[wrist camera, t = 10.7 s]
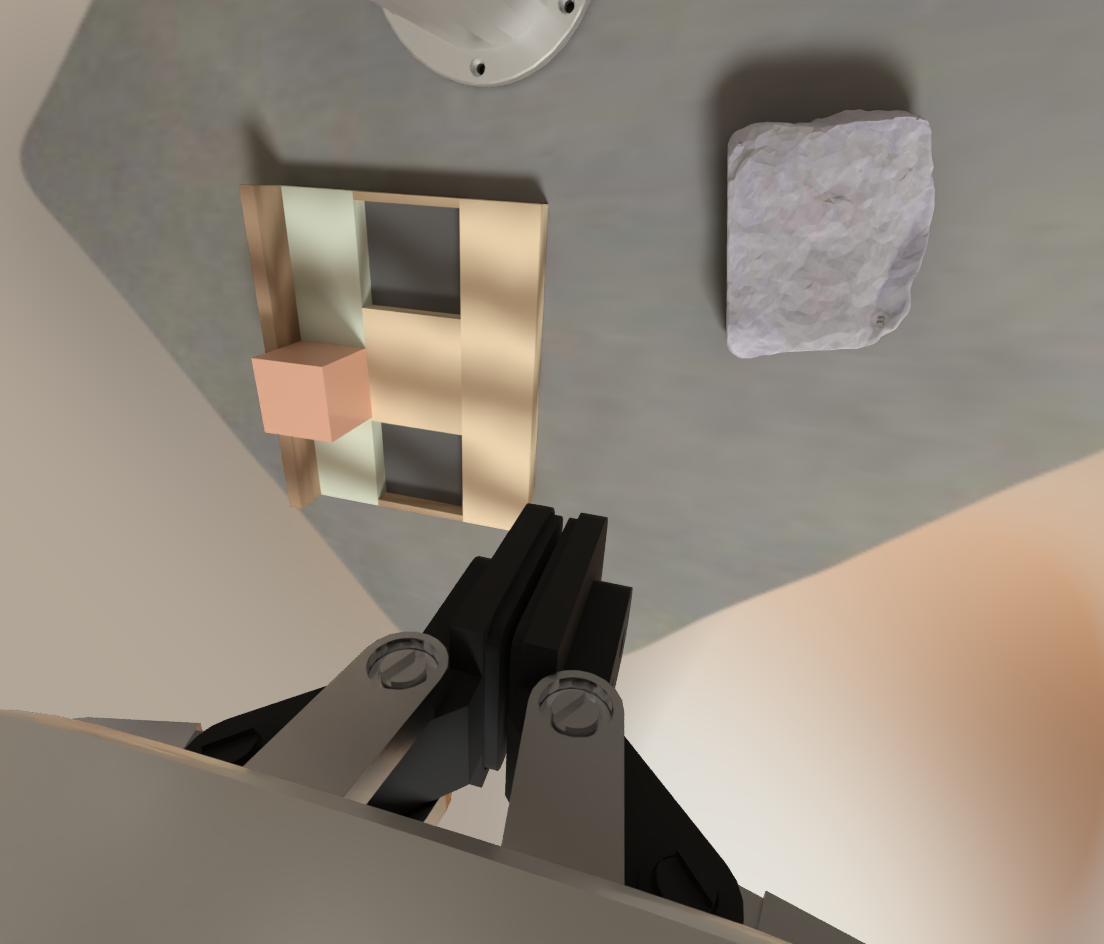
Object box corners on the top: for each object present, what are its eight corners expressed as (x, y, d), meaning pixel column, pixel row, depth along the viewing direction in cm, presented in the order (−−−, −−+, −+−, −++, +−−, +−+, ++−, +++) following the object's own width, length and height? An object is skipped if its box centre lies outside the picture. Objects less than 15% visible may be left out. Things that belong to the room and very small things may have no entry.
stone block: (909, 100, 30) (710, 131, 31) (962, 86, 26) (729, 123, 27) (885, 331, 35) (714, 351, 36) (926, 351, 31) (731, 374, 32)
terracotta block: (301, 340, 41) (251, 358, 37) (365, 348, 40) (322, 367, 36) (311, 408, 44) (265, 432, 39) (372, 416, 42) (332, 442, 38)
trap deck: (282, 185, 39) (238, 184, 35) (548, 204, 35) (528, 205, 31) (321, 483, 48) (289, 506, 45) (532, 523, 45) (516, 551, 41)
